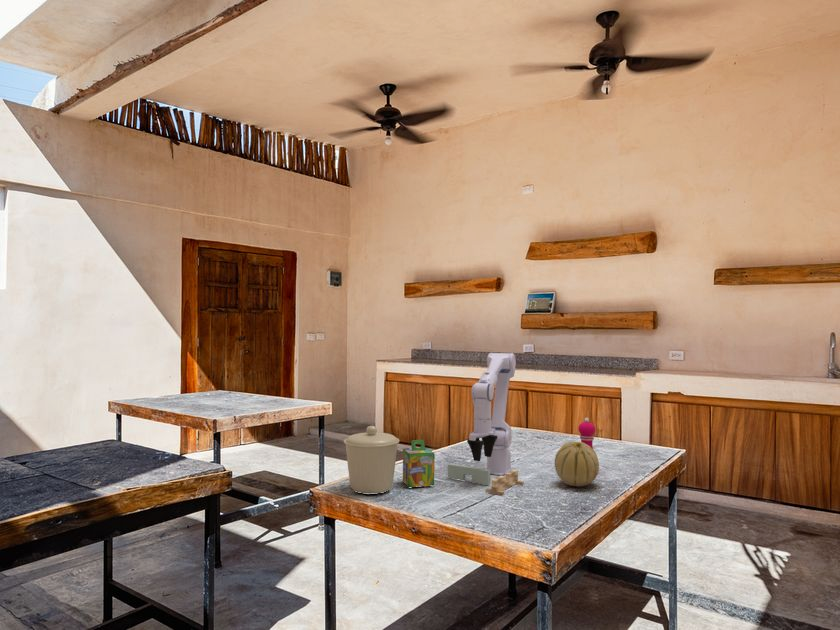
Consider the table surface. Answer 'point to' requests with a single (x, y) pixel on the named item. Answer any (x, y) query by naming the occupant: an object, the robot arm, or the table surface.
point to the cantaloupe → (576, 464)
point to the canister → (371, 460)
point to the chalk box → (418, 465)
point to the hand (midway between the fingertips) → (482, 458)
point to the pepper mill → (587, 432)
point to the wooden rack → (504, 482)
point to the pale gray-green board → (469, 473)
